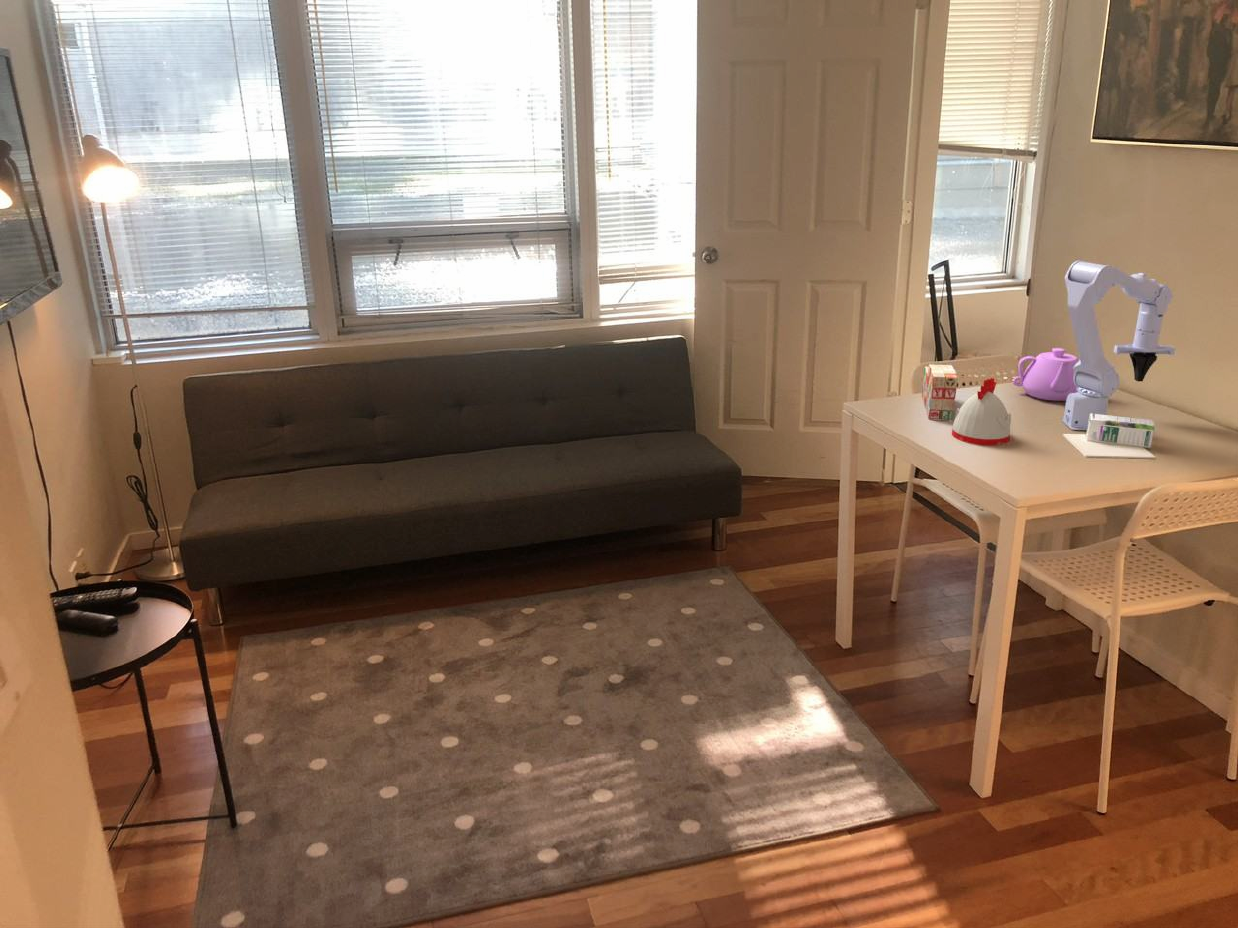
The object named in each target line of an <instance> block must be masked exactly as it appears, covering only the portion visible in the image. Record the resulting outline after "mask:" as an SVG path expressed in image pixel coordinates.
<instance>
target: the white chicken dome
mask: <svg viewBox="0 0 1238 928" xmlns="http://www.w3.org/2000/svg"><path fill="white" fill-rule="evenodd" d="M996 385H997V382H996V381H995V378H993V377H992V378H991V377H990V378H987V379H984V380H983V384H982V385H980V390H979V391H978V390H977V392H976V393H975V394H973V395H971V396H970V397H969V398H967V399H966V401H965V402H964V403H963V404H962V405H961V407H960V408H958V407H957V409H956V412H955V418H954V421H953V424H952V429H951V436H952V437H953V438H954V439H956V440H958V441H961V442H964V443H967V444H971V443H972V444H973V445H977V444H978V446H999V445H998V444H1000V445H1004V444H1006V443H1008V442H1009V441H1010V437H1011V423H1012V416H1011V415H1012V414H1011V413H1008V411H1007V409H1006V406H1005V404H1004V403H1003V401H1002V400H1001V399H1000V398H999V397H998V396H997V395H996V394H994V391H995V389H996ZM1003 443H1004V444H1003Z"/></svg>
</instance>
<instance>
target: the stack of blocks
mask: <svg viewBox="0 0 1238 928" xmlns="http://www.w3.org/2000/svg"><path fill="white" fill-rule="evenodd" d="M958 379H959V378H958V375H957V372H956V370H955V369H954V367H953V365H952V364H928V366H924V370H923V381H922V394H921V397H922V403H923V406H924V408H925V411H926V416H927V415H928V416H927V420H929V419H941V420H940V421H949V420H952V421H953V416H954V411H955V410H954V408H955V401H956V400H955V399H956V396H957V395H956V393H957V386H958ZM942 419H943V420H942Z"/></svg>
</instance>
